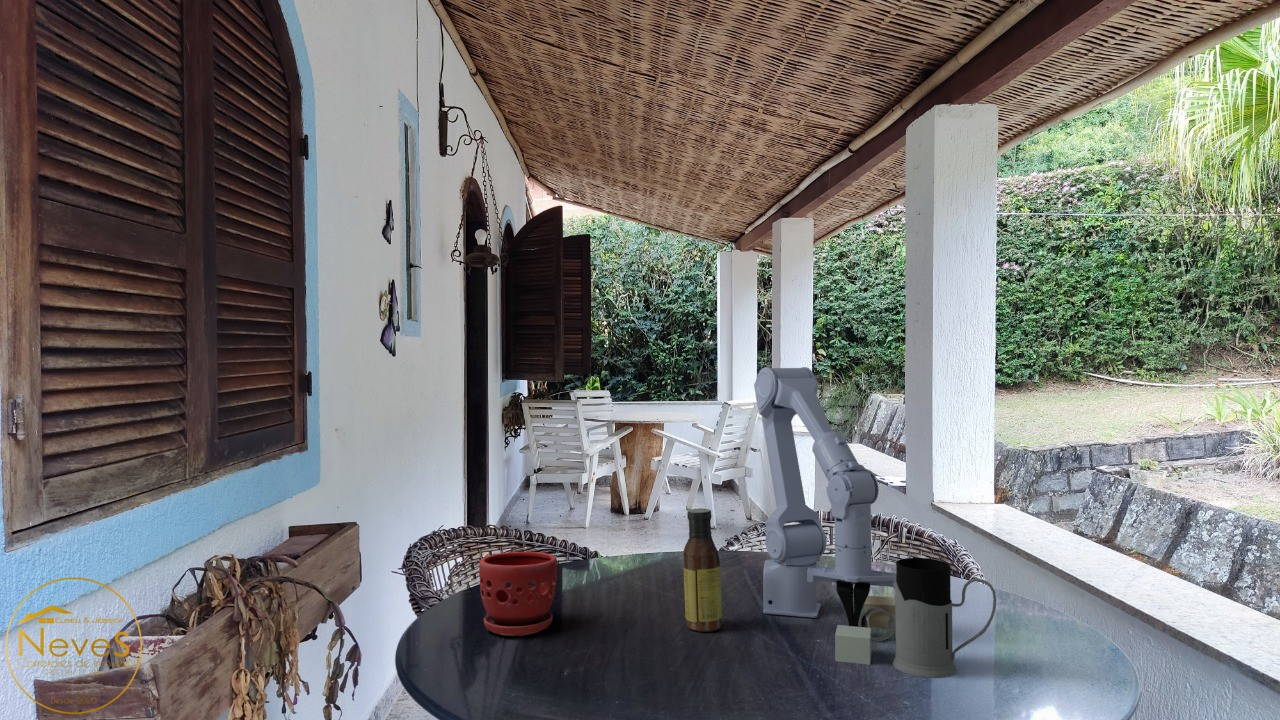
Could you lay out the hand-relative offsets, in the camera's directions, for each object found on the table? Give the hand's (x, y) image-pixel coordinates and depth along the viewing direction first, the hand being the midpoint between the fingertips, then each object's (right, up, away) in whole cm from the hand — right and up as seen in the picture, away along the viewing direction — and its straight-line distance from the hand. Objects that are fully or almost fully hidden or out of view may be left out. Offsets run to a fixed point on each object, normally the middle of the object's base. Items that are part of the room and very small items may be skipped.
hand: (853, 628), depth 130 cm
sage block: (-2, -2, -9) cm, 9 cm away
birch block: (+6, -2, +7) cm, 10 cm away
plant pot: (-55, -2, +6) cm, 56 cm away
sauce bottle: (-24, -2, +6) cm, 25 cm away
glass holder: (+9, -1, -14) cm, 17 cm away
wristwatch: (+4, -2, -1) cm, 4 cm away
